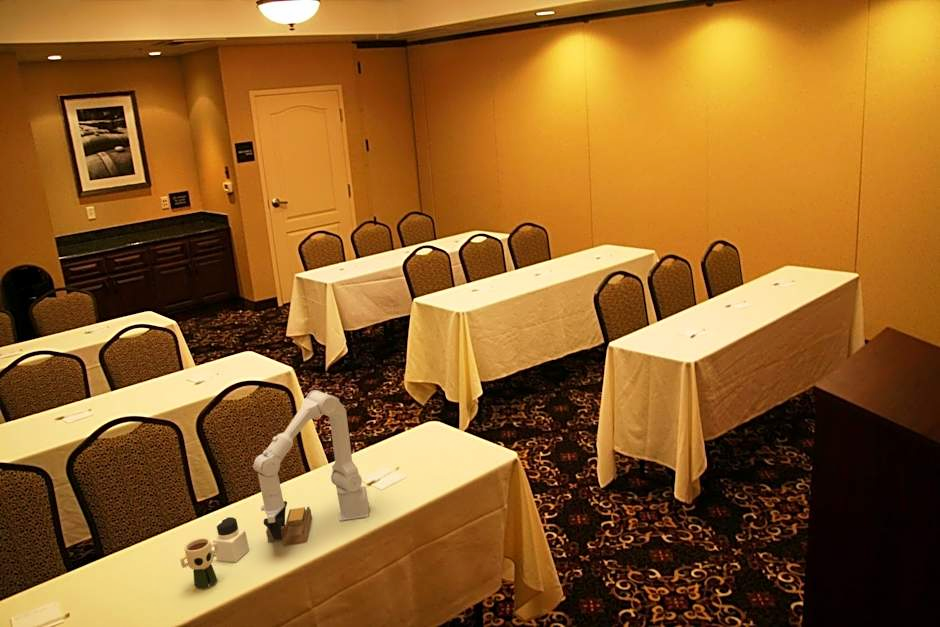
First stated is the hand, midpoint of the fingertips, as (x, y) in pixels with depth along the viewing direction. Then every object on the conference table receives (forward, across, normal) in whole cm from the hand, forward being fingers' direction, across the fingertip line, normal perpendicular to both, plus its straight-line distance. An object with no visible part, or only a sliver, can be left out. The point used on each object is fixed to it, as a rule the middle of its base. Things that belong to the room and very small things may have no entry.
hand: (279, 532), depth 239 cm
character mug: (+6, +14, -20) cm, 25 cm away
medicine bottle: (+6, 0, -15) cm, 16 cm away
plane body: (+5, -9, +1) cm, 11 cm away
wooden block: (+2, -11, +4) cm, 12 cm away
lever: (+1, -2, -3) cm, 4 cm away
